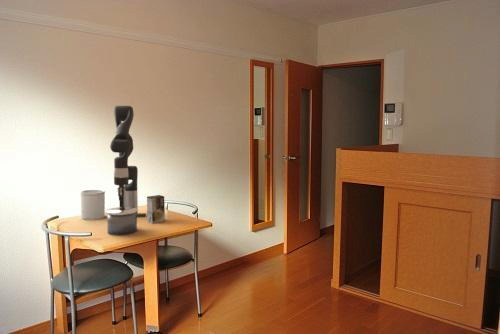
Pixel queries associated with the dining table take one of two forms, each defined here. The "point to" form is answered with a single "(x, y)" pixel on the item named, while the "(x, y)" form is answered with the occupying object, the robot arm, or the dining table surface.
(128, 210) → the pot lid
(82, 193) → the utensil holder
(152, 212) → the coffee box
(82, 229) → the dining table surface
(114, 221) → the steel pot
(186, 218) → the dining table surface
